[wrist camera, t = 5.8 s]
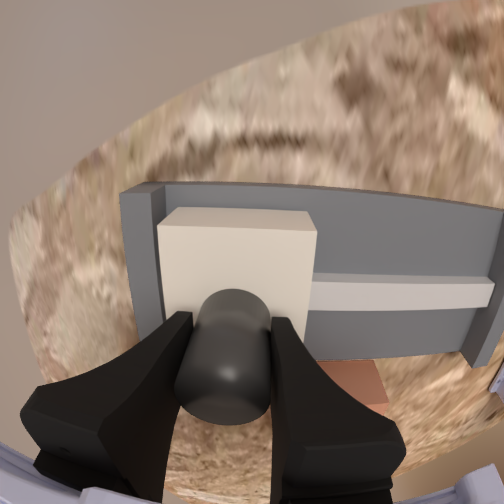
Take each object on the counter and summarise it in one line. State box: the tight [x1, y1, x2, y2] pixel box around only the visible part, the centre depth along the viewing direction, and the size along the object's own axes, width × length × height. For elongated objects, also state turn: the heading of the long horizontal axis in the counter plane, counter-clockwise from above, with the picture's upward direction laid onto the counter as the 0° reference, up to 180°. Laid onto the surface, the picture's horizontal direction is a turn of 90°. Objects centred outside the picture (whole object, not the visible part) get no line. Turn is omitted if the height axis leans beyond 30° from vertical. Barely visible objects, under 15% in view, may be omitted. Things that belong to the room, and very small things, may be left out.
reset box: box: [316, 360, 389, 416], centre depth 18 cm, size 6×6×4 cm
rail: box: [119, 182, 504, 368], centre depth 15 cm, size 10×22×3 cm, turn 88°
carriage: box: [157, 207, 317, 425], centre depth 12 cm, size 8×6×7 cm
